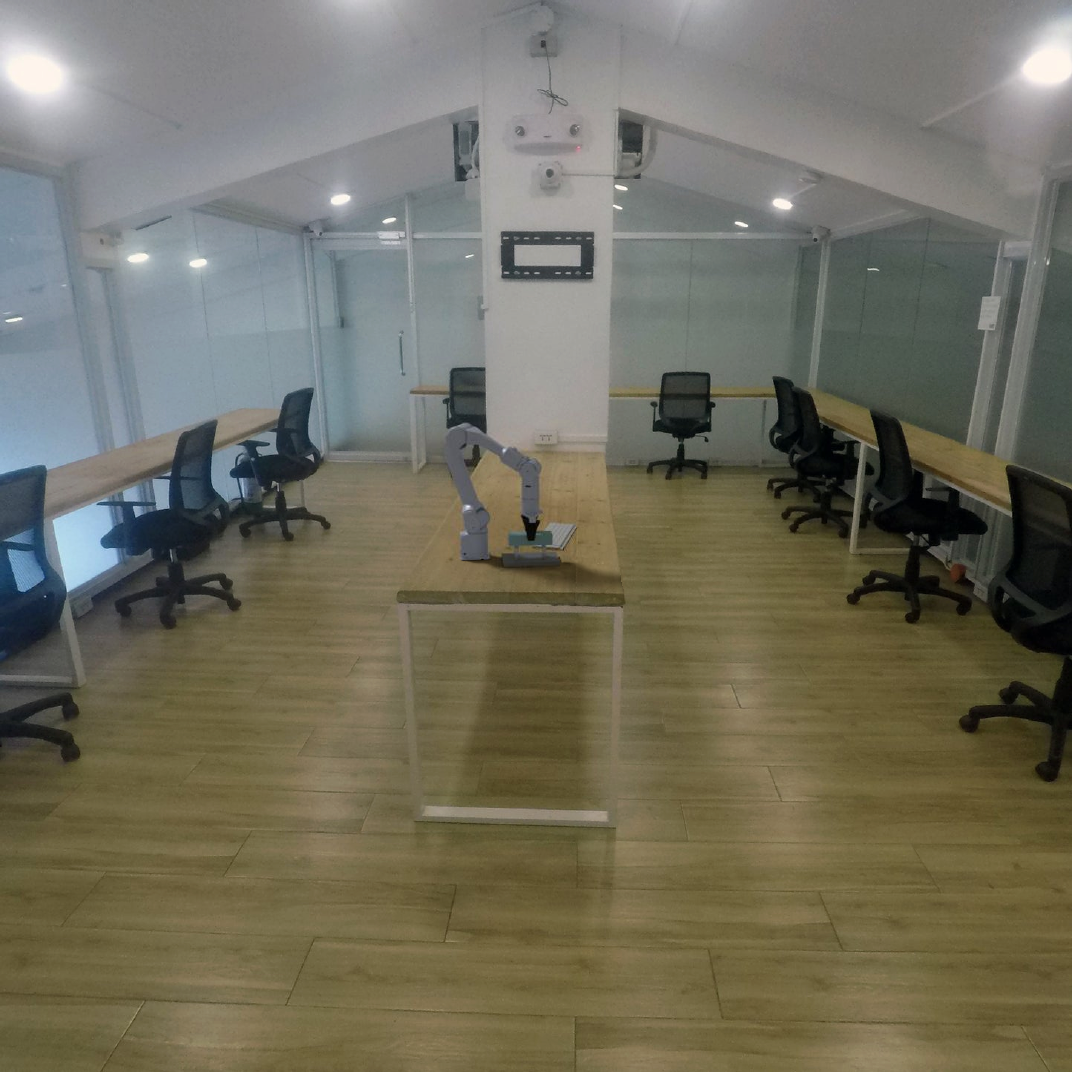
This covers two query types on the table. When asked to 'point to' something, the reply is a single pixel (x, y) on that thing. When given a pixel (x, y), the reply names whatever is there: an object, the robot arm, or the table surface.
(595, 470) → the table surface
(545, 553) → the peg stand
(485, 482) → the table surface
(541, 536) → the teal rectangular block
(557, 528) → the white ridged flat slab
